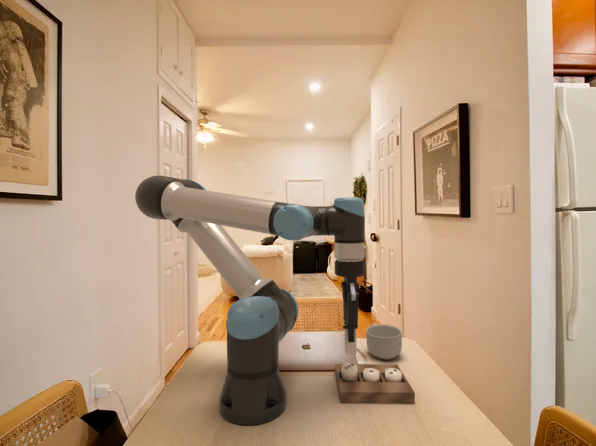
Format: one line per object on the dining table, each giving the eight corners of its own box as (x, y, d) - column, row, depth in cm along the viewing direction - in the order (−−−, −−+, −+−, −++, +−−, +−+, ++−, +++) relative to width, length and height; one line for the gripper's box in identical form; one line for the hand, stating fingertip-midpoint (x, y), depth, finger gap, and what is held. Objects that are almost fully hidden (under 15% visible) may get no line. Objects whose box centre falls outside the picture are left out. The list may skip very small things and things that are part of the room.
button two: (387, 386, 79) (387, 375, 79) (383, 378, 83) (383, 367, 83) (403, 386, 79) (403, 375, 79) (398, 378, 83) (399, 367, 83)
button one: (364, 386, 79) (364, 375, 79) (361, 378, 83) (361, 367, 83) (381, 386, 79) (381, 375, 79) (377, 378, 83) (377, 367, 83)
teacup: (406, 363, 94) (406, 336, 94) (369, 363, 94) (369, 336, 94) (393, 344, 108) (393, 320, 107) (361, 344, 108) (361, 320, 108)
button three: (342, 380, 79) (342, 369, 79) (340, 373, 83) (340, 362, 83) (358, 381, 79) (358, 370, 79) (356, 373, 83) (356, 362, 83)
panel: (340, 402, 74) (340, 392, 74) (334, 373, 88) (334, 364, 88) (414, 403, 74) (414, 392, 74) (397, 373, 88) (397, 364, 88)
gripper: (370, 263, 74) (370, 364, 74) (360, 256, 87) (361, 342, 87) (337, 263, 74) (338, 364, 74) (332, 256, 87) (333, 342, 87)
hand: (350, 352), depth 81 cm, fingers closed
